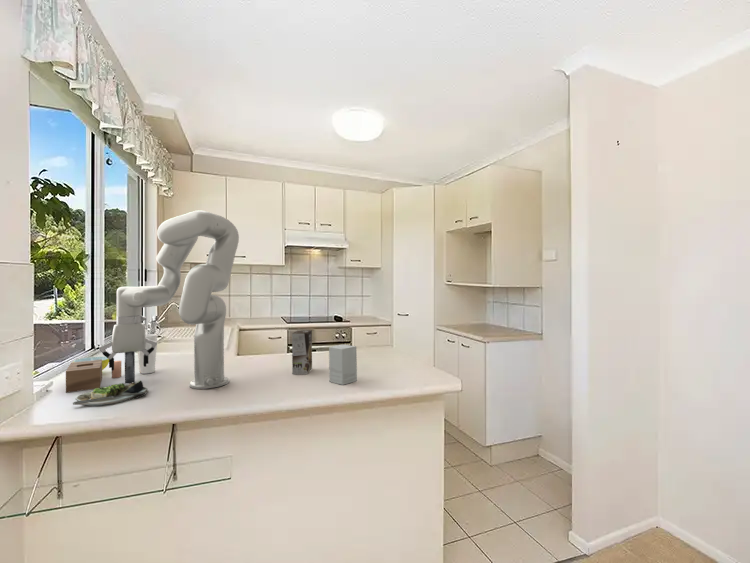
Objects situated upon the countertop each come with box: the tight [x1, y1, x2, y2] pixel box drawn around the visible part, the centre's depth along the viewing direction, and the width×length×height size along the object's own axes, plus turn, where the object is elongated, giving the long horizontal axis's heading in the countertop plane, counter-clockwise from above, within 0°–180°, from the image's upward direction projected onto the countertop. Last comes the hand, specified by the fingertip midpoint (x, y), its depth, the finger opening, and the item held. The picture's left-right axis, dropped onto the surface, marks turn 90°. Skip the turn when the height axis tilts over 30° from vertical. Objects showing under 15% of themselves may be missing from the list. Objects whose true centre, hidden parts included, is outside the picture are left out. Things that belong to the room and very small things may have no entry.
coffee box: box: [291, 329, 313, 375], centre depth 144 cm, size 9×6×16 cm
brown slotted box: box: [65, 359, 103, 393], centre depth 128 cm, size 16×9×7 cm, turn 35°
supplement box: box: [328, 344, 358, 386], centre depth 130 cm, size 7×7×13 cm
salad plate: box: [72, 380, 149, 407], centre depth 112 cm, size 19×18×5 cm
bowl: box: [72, 356, 109, 371], centre depth 141 cm, size 11×12×6 cm
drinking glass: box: [137, 333, 158, 375], centre depth 144 cm, size 7×7×15 cm
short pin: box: [111, 360, 122, 379], centre depth 138 cm, size 3×3×6 cm
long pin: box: [124, 352, 136, 384], centre depth 130 cm, size 3×3×12 cm
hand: (129, 367), depth 130 cm, fingers open, 9 cm apart
